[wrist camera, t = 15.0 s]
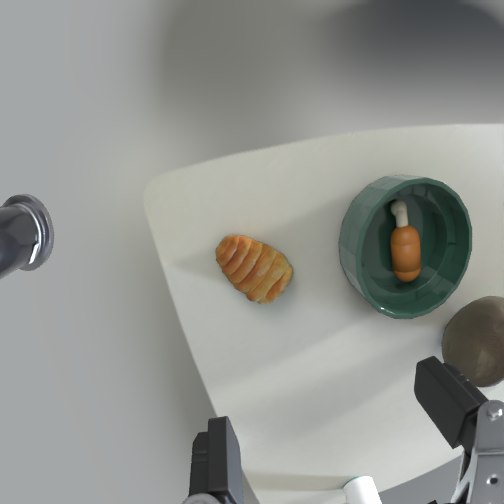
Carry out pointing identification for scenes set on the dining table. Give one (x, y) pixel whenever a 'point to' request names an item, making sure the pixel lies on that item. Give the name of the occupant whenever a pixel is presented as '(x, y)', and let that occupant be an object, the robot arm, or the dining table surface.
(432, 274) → the green faceted bowl
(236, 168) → the dining table surface
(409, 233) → the drumstick
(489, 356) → the grey clay lump
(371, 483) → the can
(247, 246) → the pastry
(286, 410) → the dining table surface
